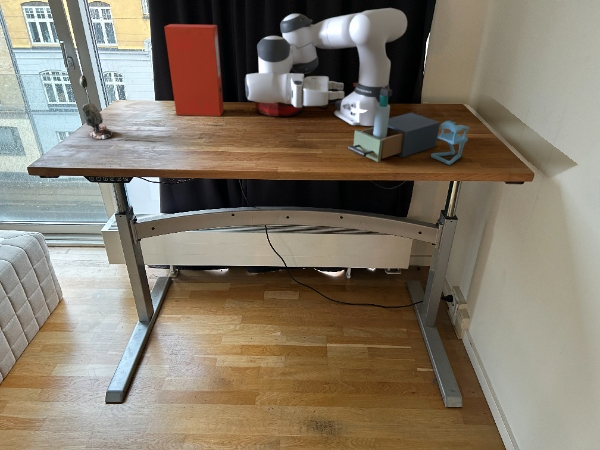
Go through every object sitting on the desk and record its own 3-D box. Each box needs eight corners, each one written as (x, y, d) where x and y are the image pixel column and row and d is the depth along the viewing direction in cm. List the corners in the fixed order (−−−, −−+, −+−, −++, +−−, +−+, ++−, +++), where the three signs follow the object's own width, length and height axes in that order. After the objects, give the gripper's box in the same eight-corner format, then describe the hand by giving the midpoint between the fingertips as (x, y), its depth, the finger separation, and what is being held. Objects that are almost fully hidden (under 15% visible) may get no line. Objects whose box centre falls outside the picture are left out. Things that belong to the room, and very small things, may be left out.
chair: (466, 159, 137) (475, 122, 131) (449, 165, 133) (457, 127, 127) (447, 151, 143) (455, 115, 136) (430, 156, 139) (437, 120, 132)
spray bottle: (368, 148, 139) (375, 88, 129) (378, 145, 141) (385, 86, 131) (378, 152, 136) (385, 91, 126) (387, 149, 138) (395, 89, 128)
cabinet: (402, 157, 138) (406, 132, 133) (374, 145, 146) (377, 121, 142) (435, 146, 146) (440, 122, 142) (407, 135, 155) (411, 112, 150)
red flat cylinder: (313, 111, 177) (281, 100, 189) (314, 90, 173) (280, 80, 185) (277, 121, 165) (244, 109, 177) (277, 99, 161) (243, 88, 173)
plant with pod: (81, 142, 145) (64, 81, 134) (95, 130, 154) (81, 72, 144) (105, 142, 145) (90, 81, 134) (118, 131, 154) (105, 73, 144)
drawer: (367, 165, 130) (369, 144, 127) (342, 153, 138) (344, 133, 134) (411, 151, 140) (414, 131, 137) (386, 140, 148) (388, 121, 144)
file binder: (181, 109, 177) (170, 23, 160) (223, 110, 177) (217, 24, 160) (176, 115, 170) (164, 26, 153) (220, 116, 170) (212, 27, 153)
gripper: (299, 90, 141) (342, 91, 140) (295, 109, 123) (343, 111, 123) (300, 70, 137) (343, 71, 137) (295, 86, 120) (345, 88, 119)
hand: (343, 90), depth 129 cm, fingers open, 8 cm apart
